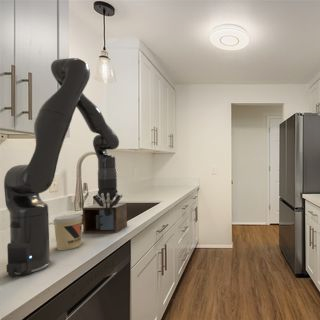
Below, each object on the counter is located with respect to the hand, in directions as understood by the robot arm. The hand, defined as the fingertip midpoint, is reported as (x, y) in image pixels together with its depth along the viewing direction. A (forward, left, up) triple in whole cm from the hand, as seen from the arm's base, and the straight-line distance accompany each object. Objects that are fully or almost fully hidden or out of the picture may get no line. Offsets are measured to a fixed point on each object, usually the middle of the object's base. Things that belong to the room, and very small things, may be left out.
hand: (108, 215), depth 108 cm
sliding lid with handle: (+2, +3, -8) cm, 8 cm away
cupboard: (+8, +6, -9) cm, 14 cm away
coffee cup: (-14, +8, -9) cm, 18 cm away
